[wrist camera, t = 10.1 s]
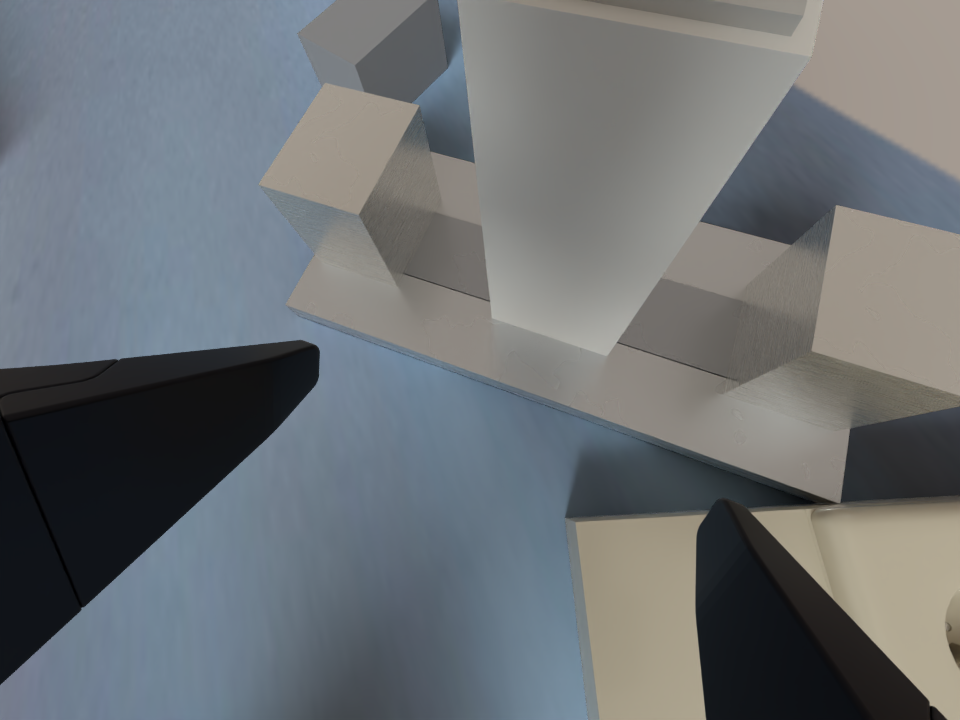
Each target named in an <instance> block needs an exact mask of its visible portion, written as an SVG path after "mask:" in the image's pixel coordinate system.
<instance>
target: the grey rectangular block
mask: <svg viewBox="0 0 960 720" xmlns="http://www.w3.org/2000/svg"><path fill="white" fill-rule="evenodd" d="M297 34H298V36H299V38H300V41H301V43H302V45H303V47H304V49H305V51H306V54H307V56H308V58H309V60H310V62H311V64H312V67H313V69H314V71H315V73H316V75H317V77H318V80H319V82H320V84H321V86H322V87H323V85H324V84H325V83H328V84H332V85H336V86H340V87H345V88H349V89H353V90H357V91H361V92H366V93H370V94H374V95H378V96H382V97H386V98H391V99H395V100H399V101H403V102H407V103H412V102H413V101H415V100H416V99H417V98H418V97H419V96H420V95H421V94H422V93H423V92H424V91H425V90H426V89H427V88H428V87H429V86H430V85H431V84H432V83H433V82H434V81H435V80H436V79H437V78H438V77H439V76H440V75H441V74H442V73H443V72H444V71H445V70H446V69H447V68H448V66H447V59H446V52H445V45H444V39H443V32H442V25H441V18H440V12H439V5H438V0H337V1H335V2H334V3H333V4H332V5H331V6H329V7H328V8H327V9H326V10H325V11H324V12H322V13H321V14H320V15H319V16H318V17H316V18H315V19H314V20H313V21H312V22H310V23H309V24H308V25H307V26H306V27H305V28H303V29H302V30H301V31H300V32H299V33H297Z"/></svg>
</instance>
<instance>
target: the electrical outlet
mask: <svg viewBox="0 0 960 720" xmlns="http://www.w3.org/2000/svg"><path fill="white" fill-rule="evenodd" d="M746 508H747V509H748V510H749V511H750V512H751V513H752V514H753V515H754V516H755V517H756V518H757V519H758V520H759V522H760V523H761V524H762V525H763V526H764V527H765V528H766V529H767V530H768V531H769V532H770V533H771V534H772V535H773V536H774V537H775V538H776V539H777V540H778V542H779V543H780V544H781V545H782V546H783V547H784V548H785V549H786V550H787V551H788V552H789V553H790V554H791V555H792V556H793V557H794V558H795V559H796V561H797V562H798V563H799V564H800V565H801V566H802V567H803V568H804V569H805V570H806V571H807V572H808V573H809V574H810V575H811V576H812V577H813V578H814V580H815V581H816V582H817V583H818V584H819V585H820V586H821V587H822V588H823V589H824V590H825V591H826V592H827V593H828V594H829V595H830V596H831V597H832V598H833V600H834V601H835V602H836V603H837V604H838V605H839V606H840V607H841V608H842V609H843V610H844V611H845V612H846V613H847V614H848V615H849V616H850V617H851V618H852V620H853V621H854V622H855V623H856V624H857V625H858V626H859V627H860V628H861V629H862V630H863V631H864V632H865V633H866V634H867V635H868V636H869V637H870V639H871V640H872V641H873V642H874V643H875V644H876V645H877V646H878V647H879V648H880V649H881V650H882V651H883V652H884V653H885V654H886V655H887V656H888V657H889V659H890V660H891V661H892V662H893V663H894V664H895V665H896V666H897V667H898V668H899V669H900V670H901V671H902V672H903V673H904V674H905V675H906V676H907V677H908V679H909V680H910V681H911V682H912V683H913V684H914V685H915V686H916V687H917V688H918V689H919V690H920V691H921V692H922V693H923V694H924V695H925V696H926V698H927V699H928V700H929V702H930V706H934V707H936V708H937V709H938V710H939V711H940V712H941V713H942V714H943V715H944V716H945V717H946V718H947V720H960V495H953V496H936V497H918V498H901V499H883V500H866V501H849V502H840V504H831V503H814V504H796V505H779V506H761V507H746ZM709 511H710V509H709V510H691V511H674V512H656V513H639V514H621V515H604V516H586V517H569V518H565V524H566V533H567V542H568V550H569V559H570V568H571V577H572V585H573V594H574V603H575V612H576V620H577V629H578V638H579V646H580V655H581V664H582V673H583V681H584V690H585V699H586V707H587V716H588V720H706V715H705V705H704V695H703V685H702V676H701V666H700V656H699V646H698V636H697V626H696V613H695V583H696V535H697V531H698V528H699V526H700V524H701V522H702V521H703V520H704V518H705V517H706V515H707V514H708V512H709Z"/></svg>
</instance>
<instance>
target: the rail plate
mask: <svg viewBox="0 0 960 720" xmlns="http://www.w3.org/2000/svg"><path fill="white" fill-rule="evenodd" d="M258 185H259V186H260V188H261V189H262V190H263V191H264V192H265V194H266V195H267V196H268V197H269V199H270V200H271V201H272V202H273V204H274V205H275V206H276V207H277V208H278V210H279V211H280V212H281V213H282V215H283V216H284V217H285V218H286V220H287V221H288V222H289V223H290V224H291V226H292V227H293V228H294V229H295V231H296V232H297V233H298V234H299V236H300V237H301V238H302V239H303V240H304V242H305V243H306V244H307V245H308V247H309V248H310V249H311V250H312V252H313V253H314V256H313V258H312V260H311V261H310V263H309V265H308V266H307V268H306V270H305V272H304V273H303V275H302V277H301V279H300V280H299V282H298V284H297V286H296V287H295V289H294V291H293V293H292V294H291V296H290V298H289V300H288V301H287V303H286V306H287V307H288V308H290V309H291V310H292V311H293V312H294V313H296V314H297V315H298V316H300V317H303V318H305V319H308V320H311V321H314V322H316V323H319V324H322V325H325V326H328V327H330V328H333V329H336V330H339V331H341V332H344V333H347V334H350V335H352V336H355V337H358V338H361V339H364V340H366V341H369V342H372V343H375V344H377V345H380V346H383V347H386V348H388V349H391V350H394V351H397V352H399V353H402V354H405V355H408V356H411V357H413V358H416V359H419V360H422V361H424V362H427V363H430V364H433V365H435V366H438V367H441V368H444V369H446V370H449V371H452V372H455V373H458V374H460V375H463V376H466V377H469V378H471V379H474V380H477V381H480V382H482V383H485V384H488V385H491V386H493V387H496V388H499V389H502V390H505V391H507V392H510V393H513V394H516V395H518V396H521V397H524V398H527V399H529V400H532V401H535V402H538V403H540V404H543V405H546V406H549V407H552V408H554V409H557V410H560V411H563V412H565V413H568V414H571V415H574V416H576V417H579V418H582V419H585V420H587V421H590V422H593V423H596V424H599V425H601V426H604V427H607V428H610V429H612V430H615V431H618V432H621V433H623V434H626V435H629V436H632V437H634V438H637V439H640V440H643V441H646V442H648V443H651V444H654V445H657V446H659V447H662V448H665V449H668V450H670V451H673V452H676V453H679V454H681V455H684V456H687V457H690V458H693V459H695V460H698V461H701V462H704V463H706V464H709V465H712V466H715V467H717V468H720V469H723V470H726V471H728V472H731V473H734V474H737V475H740V476H742V477H745V478H748V479H751V480H753V481H756V482H759V483H762V484H764V485H767V486H770V487H773V488H776V489H778V490H781V491H784V492H787V493H789V494H792V495H795V496H798V497H800V498H803V499H806V500H809V501H811V502H814V503H831V504H840V501H841V493H842V486H843V478H844V471H845V463H846V455H847V448H848V440H849V433H850V428H854V427H859V426H864V425H869V424H874V423H879V422H884V421H889V420H894V419H899V418H904V417H909V416H914V415H919V414H924V413H929V412H934V411H939V410H944V409H949V408H954V407H959V406H960V234H955V233H951V232H947V231H943V230H939V229H935V228H930V227H926V226H922V225H918V224H914V223H909V222H905V221H901V220H897V219H893V218H888V217H884V216H880V215H876V214H872V213H868V212H863V211H859V210H855V209H851V208H847V207H842V206H838V205H836V206H834V207H833V208H832V209H831V210H830V211H829V212H828V213H827V214H826V215H824V216H823V217H822V218H821V219H820V220H819V221H818V222H817V223H816V224H814V225H813V226H812V227H811V228H810V229H809V230H808V231H807V232H806V233H804V234H803V235H802V236H801V237H800V238H799V239H798V240H797V241H795V242H794V243H793V244H792V245H788V244H784V243H780V242H776V241H773V240H769V239H765V238H761V237H757V236H753V235H749V234H746V233H742V232H738V231H734V230H730V229H726V228H723V227H719V226H715V225H711V224H707V223H703V222H699V223H698V224H697V226H696V227H695V228H694V230H693V231H692V233H691V234H690V236H689V237H688V239H687V240H686V242H685V243H684V245H683V246H682V247H681V249H680V250H679V252H678V253H677V255H676V256H675V258H674V259H673V261H672V262H671V264H670V265H669V266H668V268H667V269H666V271H665V272H664V274H663V275H662V277H661V278H660V280H659V281H658V283H657V284H656V286H655V287H654V288H653V290H652V291H651V293H650V294H649V296H648V297H647V299H646V300H645V302H644V303H643V305H642V306H641V307H640V309H639V310H638V312H637V313H636V315H635V316H634V318H633V319H632V321H631V322H630V324H629V325H628V326H627V328H626V329H625V331H624V332H623V334H622V335H621V337H620V338H619V340H618V341H617V343H616V344H615V345H614V347H613V348H612V350H611V351H610V353H609V354H608V356H604V355H601V354H598V353H595V352H592V351H589V350H586V349H583V348H580V347H577V346H574V345H571V344H568V343H565V342H562V341H559V340H556V339H553V338H550V337H547V336H544V335H541V334H538V333H535V332H532V331H529V330H526V329H523V328H520V327H517V326H514V325H511V324H508V323H505V322H502V321H499V320H496V319H493V318H492V314H491V305H490V296H489V287H488V278H487V268H486V259H485V250H484V241H483V232H482V222H481V213H480V204H479V195H478V186H477V176H476V167H475V163H472V162H469V161H465V160H461V159H457V158H453V157H449V156H446V155H442V154H438V153H434V152H430V148H429V143H428V139H427V135H426V131H425V126H424V122H423V118H422V113H421V109H420V105H416V104H412V103H407V102H403V101H399V100H395V99H391V98H386V97H382V96H378V95H374V94H370V93H366V92H361V91H357V90H353V89H349V88H345V87H340V86H336V85H332V84H328V83H325V84H324V85H323V87H322V88H321V90H320V91H319V93H318V94H317V96H316V97H315V99H314V100H313V102H312V103H311V105H310V106H309V108H308V110H307V111H306V113H305V114H304V116H303V117H302V119H301V120H300V122H299V123H298V125H297V126H296V128H295V129H294V131H293V132H292V134H291V135H290V137H289V139H288V140H287V142H286V143H285V145H284V146H283V148H282V149H281V151H280V152H279V154H278V155H277V157H276V158H275V160H274V161H273V163H272V164H271V166H270V168H269V169H268V171H267V172H266V174H265V175H264V177H263V178H262V180H261V181H260V183H259V184H258Z"/></svg>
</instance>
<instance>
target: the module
mask: <svg viewBox="0 0 960 720" xmlns="http://www.w3.org/2000/svg"><path fill="white" fill-rule="evenodd" d="M457 2H458V11H459V20H460V29H461V39H462V48H463V57H464V66H465V75H466V85H467V94H468V103H469V112H470V121H471V130H472V140H473V149H474V158H475V167H476V176H477V186H478V195H479V204H480V213H481V222H482V232H483V241H484V250H485V259H486V268H487V278H488V287H489V296H490V305H491V314H492V318H493V319H496V320H499V321H502V322H505V323H508V324H511V325H514V326H517V327H520V328H523V329H526V330H529V331H532V332H535V333H538V334H541V335H544V336H547V337H550V338H553V339H556V340H559V341H562V342H565V343H568V344H571V345H574V346H577V347H580V348H583V349H586V350H589V351H592V352H595V353H598V354H601V355H604V356H608V354H609V353H610V351H611V350H612V348H613V347H614V345H615V344H616V343H617V341H618V340H619V338H620V337H621V335H622V334H623V332H624V331H625V329H626V328H627V326H628V325H629V324H630V322H631V321H632V319H633V318H634V316H635V315H636V313H637V312H638V310H639V309H640V307H641V306H642V305H643V303H644V302H645V300H646V299H647V297H648V296H649V294H650V293H651V291H652V290H653V288H654V287H655V286H656V284H657V283H658V281H659V280H660V278H661V277H662V275H663V274H664V272H665V271H666V269H667V268H668V266H669V265H670V264H671V262H672V261H673V259H674V258H675V256H676V255H677V253H678V252H679V250H680V249H681V247H682V246H683V245H684V243H685V242H686V240H687V239H688V237H689V236H690V234H691V233H692V231H693V230H694V228H695V227H696V226H697V224H698V223H699V221H700V220H701V218H702V217H703V215H704V214H705V212H706V211H707V209H708V208H709V207H710V205H711V204H712V202H713V201H714V199H715V198H716V196H717V195H718V193H719V192H720V190H721V189H722V187H723V186H724V185H725V183H726V182H727V180H728V179H729V177H730V176H731V174H732V173H733V171H734V170H735V168H736V167H737V166H738V164H739V163H740V161H741V160H742V158H743V157H744V155H745V154H746V152H747V151H748V149H749V148H750V147H751V145H752V144H753V142H754V141H755V139H756V138H757V136H758V135H759V133H760V132H761V130H762V129H763V128H764V126H765V125H766V123H767V122H768V120H769V119H770V117H771V116H772V114H773V113H774V111H775V110H776V108H777V107H778V106H779V104H780V103H781V101H782V100H783V98H784V97H785V95H786V94H787V92H788V91H789V89H790V88H791V87H792V85H793V84H794V82H795V81H796V79H797V78H798V76H799V75H800V73H801V72H802V70H803V69H804V68H805V66H806V65H807V63H808V62H809V60H810V58H811V57H812V53H813V49H814V44H815V40H816V35H817V30H818V25H819V21H820V16H821V12H822V7H823V2H824V0H457Z"/></svg>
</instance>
